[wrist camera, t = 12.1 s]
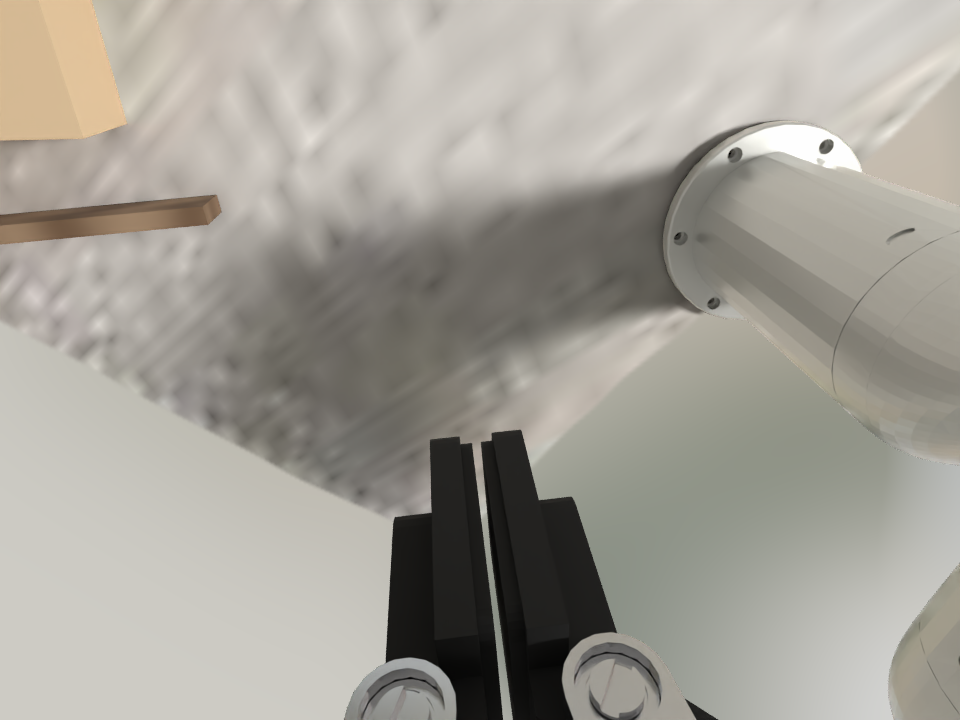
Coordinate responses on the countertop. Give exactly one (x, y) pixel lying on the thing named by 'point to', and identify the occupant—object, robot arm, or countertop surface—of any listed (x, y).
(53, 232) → the stand
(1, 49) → the kraft carton
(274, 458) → the countertop surface
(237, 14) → the countertop surface
